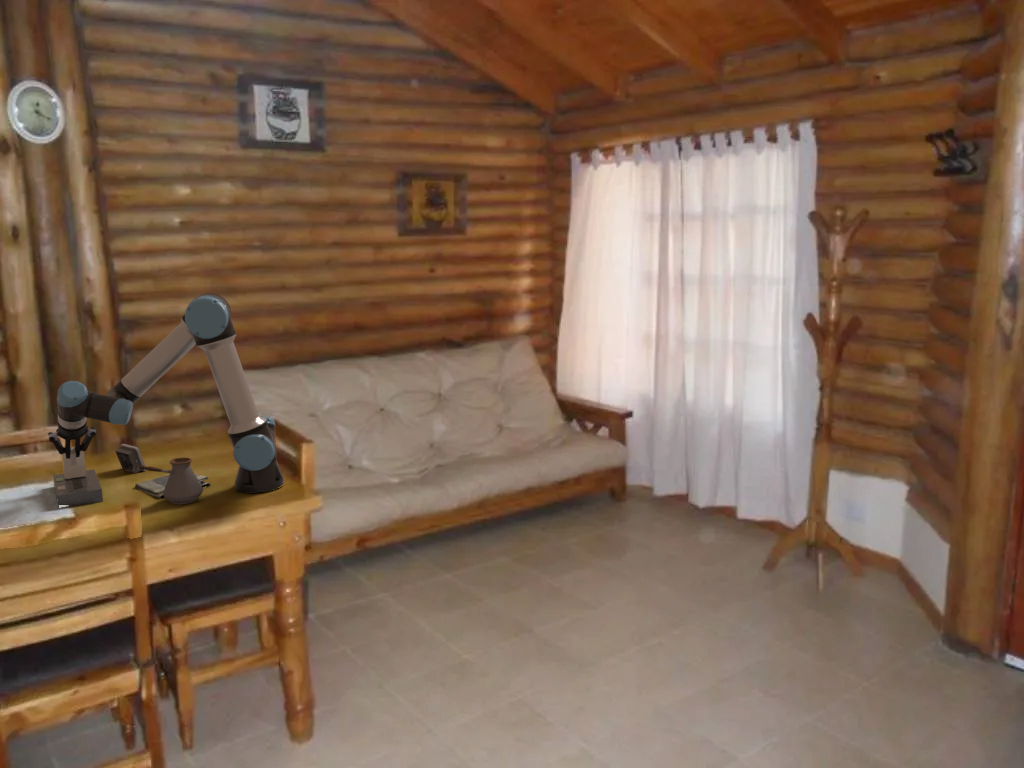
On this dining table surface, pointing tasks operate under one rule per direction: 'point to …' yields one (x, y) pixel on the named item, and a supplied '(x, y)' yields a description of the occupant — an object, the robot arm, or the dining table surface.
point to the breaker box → (78, 489)
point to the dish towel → (162, 485)
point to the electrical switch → (130, 458)
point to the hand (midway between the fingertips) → (72, 461)
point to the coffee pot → (179, 482)
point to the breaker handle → (74, 467)
